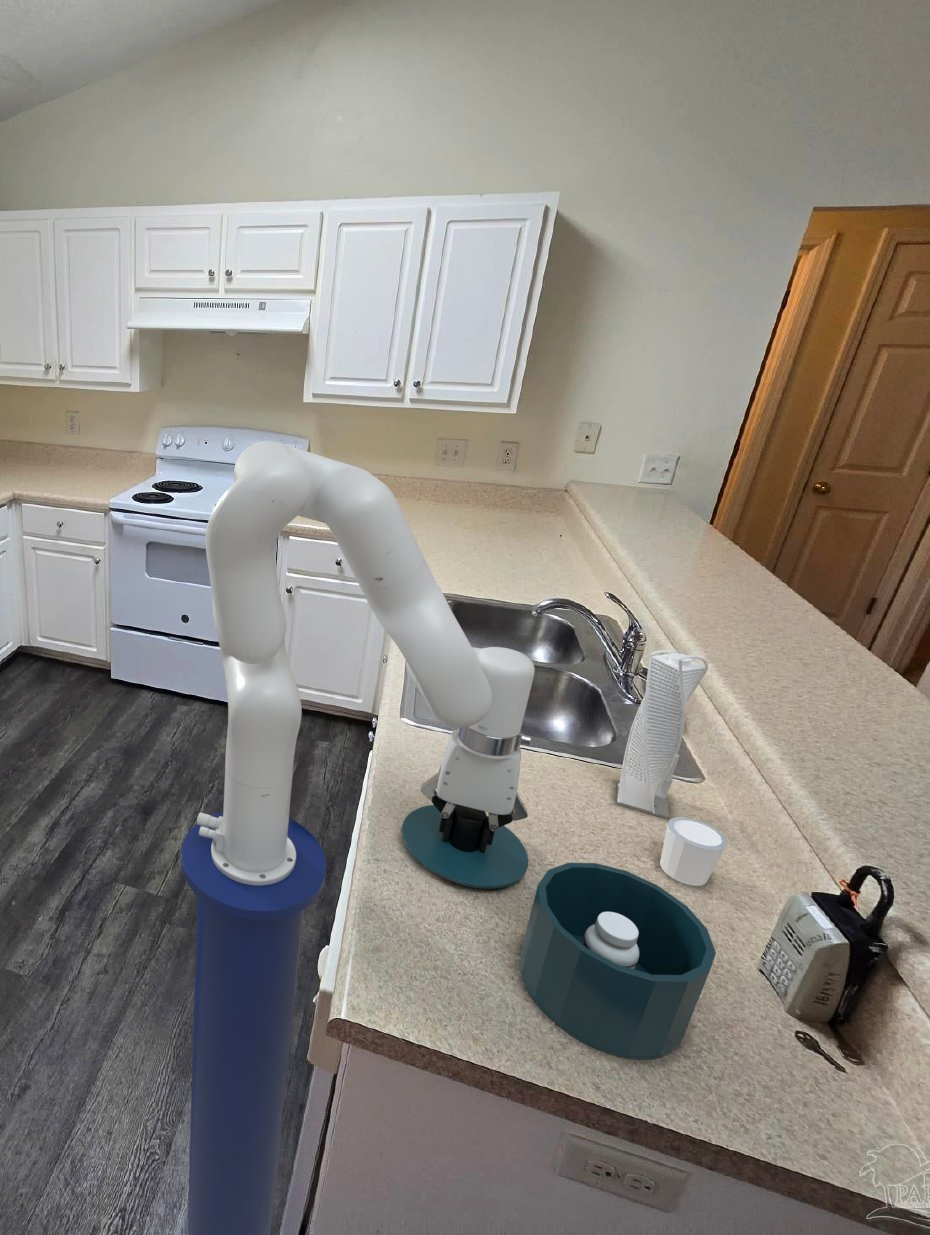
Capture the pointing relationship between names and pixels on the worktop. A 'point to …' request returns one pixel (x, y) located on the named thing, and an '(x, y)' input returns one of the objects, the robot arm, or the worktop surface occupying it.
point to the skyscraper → (658, 732)
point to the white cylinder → (691, 850)
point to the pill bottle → (614, 939)
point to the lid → (464, 848)
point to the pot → (600, 989)
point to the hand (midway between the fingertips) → (463, 839)
